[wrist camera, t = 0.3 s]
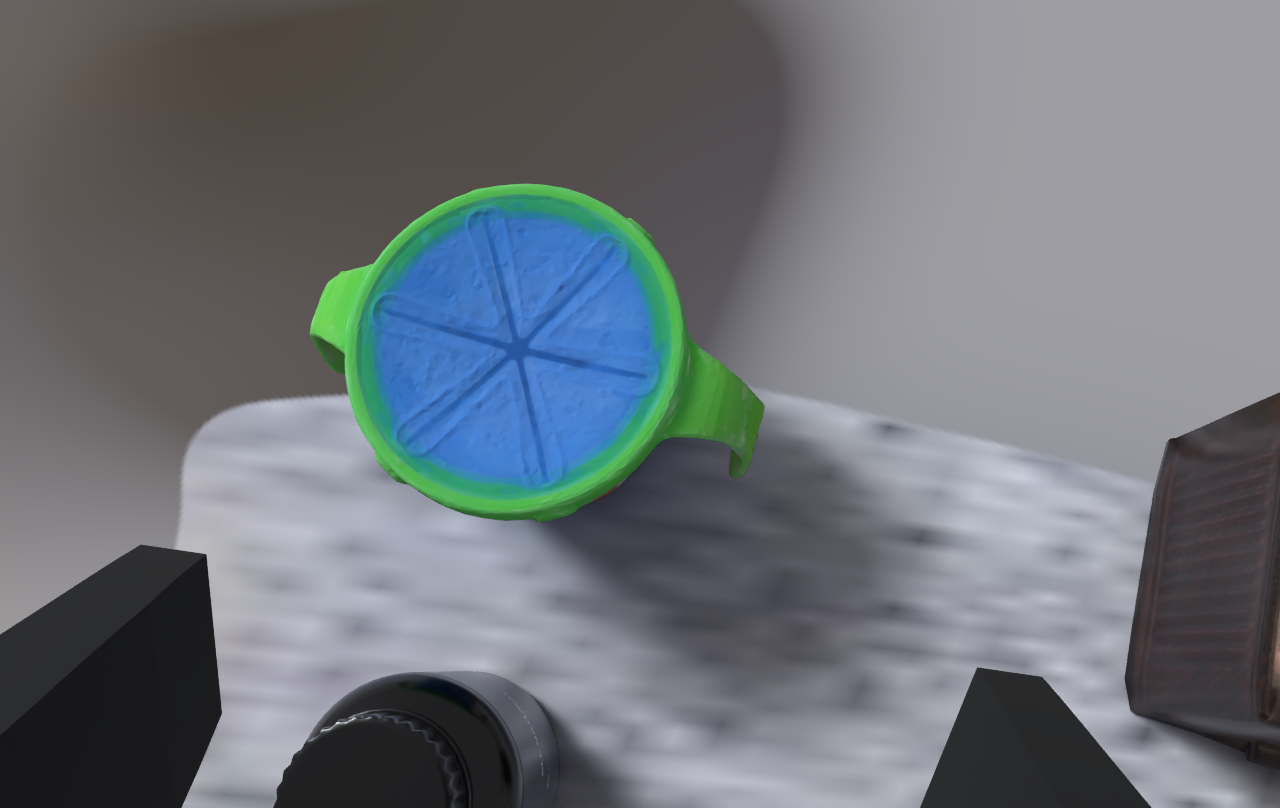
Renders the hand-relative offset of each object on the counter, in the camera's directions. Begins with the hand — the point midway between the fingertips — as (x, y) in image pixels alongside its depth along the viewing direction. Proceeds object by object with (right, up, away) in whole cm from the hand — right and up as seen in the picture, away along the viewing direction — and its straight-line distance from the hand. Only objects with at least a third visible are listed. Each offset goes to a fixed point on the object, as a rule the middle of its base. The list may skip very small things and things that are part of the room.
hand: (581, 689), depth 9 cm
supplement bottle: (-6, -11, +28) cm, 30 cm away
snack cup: (-3, +2, +31) cm, 31 cm away
